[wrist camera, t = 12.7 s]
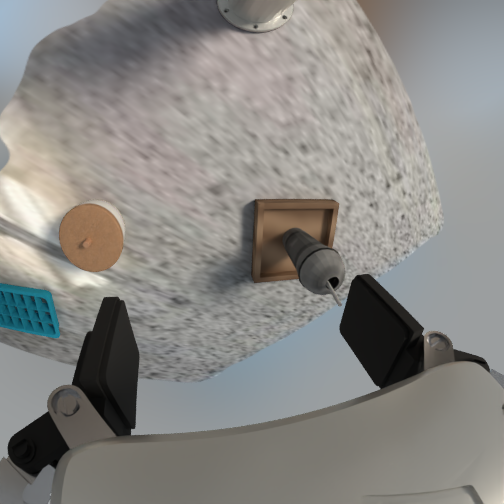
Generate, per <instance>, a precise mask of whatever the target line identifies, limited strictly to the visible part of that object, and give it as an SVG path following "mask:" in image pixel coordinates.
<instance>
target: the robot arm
mask: <svg viewBox="0 0 504 504" xmlns="http://www.w3.org/2000/svg"><path fill="white" fill-rule="evenodd" d="M296 1H297V0H217V5H218V9H219V11H220V13H221V14H222V16H223V17H224V18H225V19H226V20H227V21H228V22H229V23H231V24H232V25H234V26H235V27H238V28H240V29H242V30H246V31H250V32H268V31H272V30H275V29H278V28H279V27H281V26H283V25H284V24H285V23H286V22H287V21H288V20H289V19H290V17H291V16H292V13H293V8H294V4H293V3H294V2H296ZM225 12H227V13H225ZM283 18H284V19H283ZM253 27H255V28H256V29H255V28H253ZM423 330H424V328H423V327H422V326H421V325H420V324H419V323H418V322H417V321H416V320H415V319H414V318H413V317H412V315H410V314H409V312H408V311H407V310H405V309H404V307H403V306H401V305H400V303H398V302H397V300H396V299H394V297H393V296H391V295H390V294H389V293H388V292H387V291H386V290H385V289H384V288H383V287H382V286H381V285H380V284H379V283H378V282H377V281H376V280H375V279H374V278H373V277H372V276H371V275H369V274H363V275H357V276H356V277H355V278H354V279H353V280H352V282H351V286H350V290H349V294H348V298H347V302H346V306H345V309H344V313H343V316H342V320H341V323H340V333H341V335H342V336H343V337H344V339H345V340H346V342H347V343H348V345H349V346H350V348H351V349H352V351H353V352H354V354H355V355H356V357H357V358H358V360H359V361H360V362H361V364H362V365H363V367H364V368H365V370H366V371H367V373H368V374H369V376H370V377H371V379H372V380H373V382H374V383H375V385H376V386H379V387H380V388H381V389H380V390H378V391H375V392H372V393H370V394H367V395H364V396H361V397H358V398H355V399H352V400H350V401H346V402H343V403H340V404H337V405H334V406H330V407H327V408H323V409H320V410H316V411H312V412H309V413H305V414H301V415H296V416H292V417H288V418H284V419H279V420H274V421H269V422H264V423H258V424H253V425H247V426H241V427H234V428H226V429H219V430H210V431H199V432H188V433H174V434H151V435H131V429H135V425H136V424H135V423H136V398H137V382H138V369H139V350H138V347H137V344H136V341H135V338H134V334H133V331H132V327H131V324H130V320H129V317H128V313H127V309H126V306H125V302H124V301H123V300H120V299H119V297H104V299H103V301H102V304H101V307H100V310H99V313H98V316H97V319H96V322H95V325H94V328H93V331H89V332H88V333H87V334H86V336H85V340H84V343H83V346H82V349H81V353H80V356H79V359H78V363H77V366H76V370H75V374H74V378H73V382H72V385H63V386H60V387H58V388H56V389H55V390H54V391H53V392H52V393H51V394H50V396H49V398H48V402H47V407H48V412H47V413H45V414H44V415H42V416H41V417H39V418H38V419H36V420H35V421H33V422H32V423H31V424H29V425H28V426H26V427H25V428H23V429H22V430H20V431H19V432H17V433H16V434H14V436H12V437H11V439H10V441H9V443H8V455H9V456H8V458H7V459H5V458H4V457H3V458H2V460H1V461H0V504H48V502H49V500H50V499H51V501H50V504H504V375H502V374H500V373H498V372H497V371H495V370H493V369H491V370H490V369H489V366H488V364H487V362H486V361H485V360H484V359H483V358H481V357H479V356H476V355H472V354H469V353H465V352H462V351H458V350H455V349H453V345H452V342H451V340H450V339H449V338H448V337H447V336H446V335H445V334H443V333H441V332H438V331H429V332H427V333H426V334H425V335H424V336H423V335H422V332H423ZM50 493H51V496H50Z"/></svg>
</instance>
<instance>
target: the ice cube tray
mask: <svg viewBox="0 0 504 504" xmlns="http://www.w3.org/2000/svg"><path fill="white" fill-rule="evenodd" d="M2 291H3V293H4V296H3V293H2ZM11 293H13V296H14V298H12V295H11ZM20 294H22V295H23V297H24V300H23V299H22V298H21V295H20ZM31 296H34V299H35V301H32V300H31ZM41 298H44V299H45V300H46V301H47V303H42V299H41ZM6 305H7V306H8V307H7V306H6ZM15 306H16V307H17V309H16V308H15ZM24 308H27V311H25V309H24ZM35 310H38V313H36V312H35ZM45 312H50V314H51V315H48V314H45ZM10 316H11V318H12V319H11V318H10ZM19 318H21V320H19ZM28 320H31V322H29V321H28ZM38 322H41V323H42V324H39V323H38ZM48 323H50V324H53V325H54V326H49V324H48ZM0 327H4V328H8V329H12V330H17V331H21V332H26V333H31V334H36V335H41V336H46V337H52V338H59V336H60V332H59V329H58V328H59V322H58V319H57V315H56V311H55V307H54V303H53V299H52V294H51V293H50V292H49V291H47V290H41V289H34V288H27V287H20V286H14V285H8V284H2V283H0Z"/></svg>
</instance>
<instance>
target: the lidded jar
mask: <svg viewBox="0 0 504 504" xmlns="http://www.w3.org/2000/svg"><path fill="white" fill-rule="evenodd" d="M125 234H126V231H125V223H124V220H123V217H122V215H121V213H120V212H119V211H118V209H117V208H116V207H115V206H113V205H112V204H110V203H109V202H107V201H104V200H98V199H95V200H88V201H85V202H83V203H81V204H79V205H78V206H76V207H74V208H73V209H71V210H70V211H69V212H68V213H67V214H66V215H65V217H64V218H63V220H62V222H61V225H60V229H59V240H60V244H61V248H62V250H63V252H64V254H65V255H66V257H67V258H68V259H69V261H70V262H72V263H73V264H74V265H75V266H77V267H78V268H80V269H83V270H86V271H90V272H99V271H103V270H106V269H108V268H110V267H111V266H113V265H114V264H115V263H116V261H117V260H118V258H119V257H120V254H121V252H122V249H123V245H124V241H125Z"/></svg>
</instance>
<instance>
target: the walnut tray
mask: <svg viewBox="0 0 504 504" xmlns="http://www.w3.org/2000/svg"><path fill="white" fill-rule="evenodd" d="M338 209H339V203H338V202H336V201H334V200H328V199H255V210H254V231H253V252H252V274H251V276H252V279H253V281H254V283H259V282H270V281H281V280H291V279H299V277H298V274H297V270H296V268H295V267H294V265H293V263H292V261H291V259H290V257H289V255H288V253H287V252H286V250H285V247H284V245H283V242H282V240H283V236H284V234H285V233H286V231H288V230H289V229H291V228H296V227H297V228H300V229H302V230H303V231H305V232H306V233H308V234H309V235H311V236H312V237H313V238H315V239H316V240H318V241H319V242H320V243H322V244H323V245H325V246H328V247H330V248H332V246H333V241H334V235H335V228H336V222H337V215H338Z"/></svg>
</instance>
